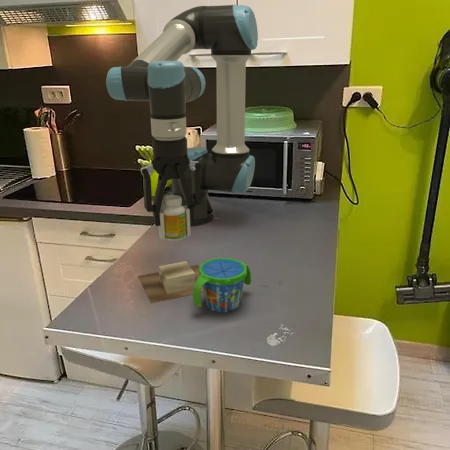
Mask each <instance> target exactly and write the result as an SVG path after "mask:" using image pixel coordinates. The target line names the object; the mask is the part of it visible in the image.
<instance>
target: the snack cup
mask: <svg viewBox="0 0 450 450" xmlns="http://www.w3.org/2000/svg"><path fill="white" fill-rule="evenodd" d="M199 275H200V276H199V278H198V279H197V281H196V283H195V287H194V291H193V295H192V300H193V301H192V302H193V303H194V305H196V306H197V307H198V308H199V307H200V308H202V301H201V298H202V297H201V294H202V293H201V291H200V290H201V288H202V286H203V290H204V292H203V293H204V294H203V295H204V299H205V303H206V304H205V305H206V307H207V308H208V310H209V309H210V310H211V311H214V312H216V313H230V312H232V311H235V310H237V309H239V307H240V306H241V302H242V297H243V296H242V295H243V290H244V284H246V285H247V286H250V285H251V284H252V273H251V269H250V267H249V265H248V264H246V263H244V262H242V261H240V260H237V259H235V258H229V257H216V258H211V259H209V260H208V259H207V260H205V261H204V262H203V263H201V264H200V265H199Z"/></svg>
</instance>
